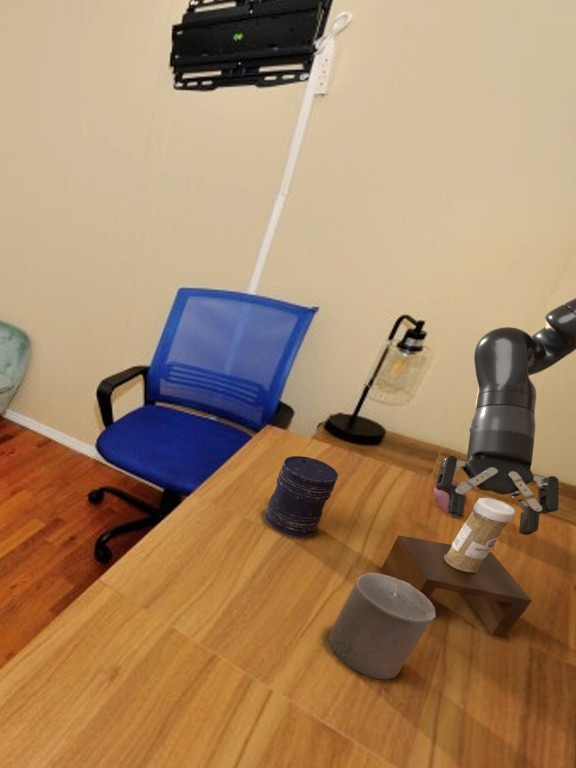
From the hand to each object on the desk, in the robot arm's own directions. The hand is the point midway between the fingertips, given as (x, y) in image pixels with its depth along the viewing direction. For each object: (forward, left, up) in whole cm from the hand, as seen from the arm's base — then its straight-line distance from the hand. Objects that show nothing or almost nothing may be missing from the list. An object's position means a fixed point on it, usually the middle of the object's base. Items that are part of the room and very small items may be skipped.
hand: (490, 525), depth 85 cm
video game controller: (-15, -37, -19) cm, 45 cm away
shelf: (0, -1, -19) cm, 19 cm away
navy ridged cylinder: (+21, -17, -19) cm, 33 cm away
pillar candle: (+17, +17, -19) cm, 31 cm away
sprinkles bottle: (0, -1, -10) cm, 10 cm away
